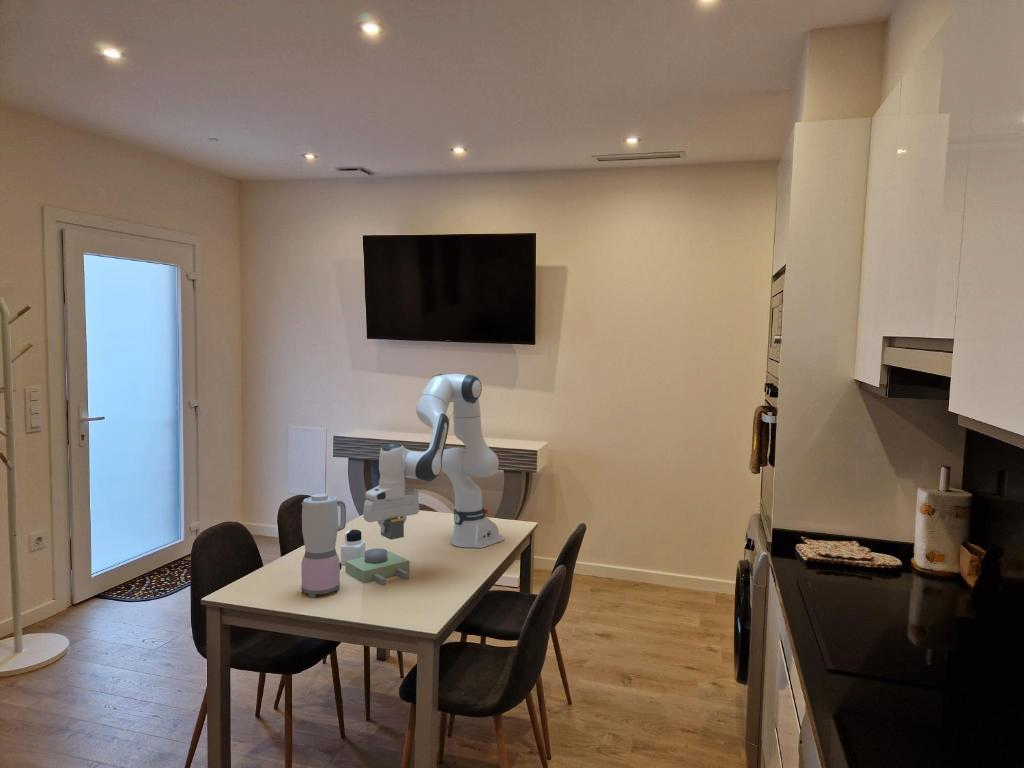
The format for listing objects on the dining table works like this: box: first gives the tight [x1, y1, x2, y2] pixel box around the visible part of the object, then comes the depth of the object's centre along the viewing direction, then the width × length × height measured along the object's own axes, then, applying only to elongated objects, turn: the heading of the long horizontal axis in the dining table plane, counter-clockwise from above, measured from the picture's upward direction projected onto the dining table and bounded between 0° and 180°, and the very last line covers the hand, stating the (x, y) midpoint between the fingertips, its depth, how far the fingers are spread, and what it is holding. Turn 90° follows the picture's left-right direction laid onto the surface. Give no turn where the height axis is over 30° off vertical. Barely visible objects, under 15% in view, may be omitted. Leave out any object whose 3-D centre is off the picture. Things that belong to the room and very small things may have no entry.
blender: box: [300, 493, 347, 599], centre depth 222 cm, size 16×12×32 cm
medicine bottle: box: [340, 529, 366, 566], centre depth 250 cm, size 7×7×12 cm
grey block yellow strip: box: [380, 517, 405, 541], centre depth 231 cm, size 5×7×7 cm
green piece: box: [344, 548, 410, 586], centre depth 238 cm, size 18×20×7 cm
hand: (392, 530), depth 231 cm, fingers closed on grey block yellow strip, 5 cm apart
